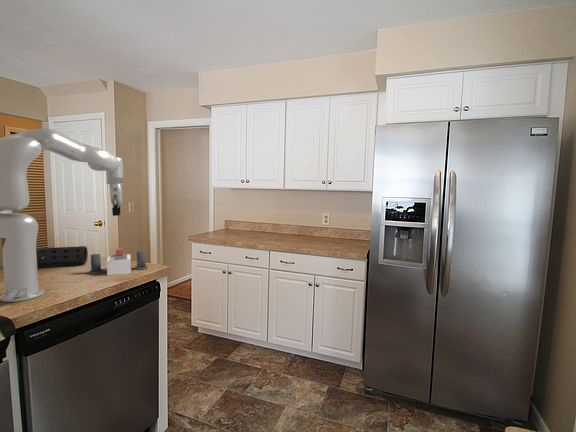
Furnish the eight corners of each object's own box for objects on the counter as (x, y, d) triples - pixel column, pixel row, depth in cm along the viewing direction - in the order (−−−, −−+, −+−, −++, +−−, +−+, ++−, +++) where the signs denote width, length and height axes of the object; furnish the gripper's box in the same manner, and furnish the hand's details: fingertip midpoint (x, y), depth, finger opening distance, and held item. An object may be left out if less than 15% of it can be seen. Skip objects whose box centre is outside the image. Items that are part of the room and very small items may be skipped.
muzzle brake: (83, 266, 160) (83, 247, 159) (16, 271, 150) (15, 250, 149) (88, 262, 169) (87, 244, 168) (25, 266, 159) (24, 246, 158)
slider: (122, 255, 155) (122, 249, 155) (115, 255, 154) (115, 249, 154) (122, 254, 157) (122, 248, 157) (115, 254, 156) (115, 248, 156)
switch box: (130, 273, 150) (130, 258, 150) (107, 275, 146) (106, 260, 145) (130, 267, 161) (130, 253, 160) (108, 269, 156) (108, 255, 156)
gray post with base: (102, 273, 148) (102, 255, 147) (88, 275, 145) (87, 256, 145) (103, 270, 154) (103, 253, 153) (89, 272, 151) (88, 254, 150)
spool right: (148, 269, 158) (147, 252, 157) (135, 270, 155) (134, 253, 154) (147, 266, 163) (147, 250, 162) (134, 267, 160) (134, 250, 159)
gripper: (123, 181, 151) (124, 216, 153) (123, 181, 166) (125, 212, 168) (105, 181, 147) (107, 216, 149) (107, 181, 163) (109, 213, 164)
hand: (116, 214), depth 159 cm, fingers open, 9 cm apart
